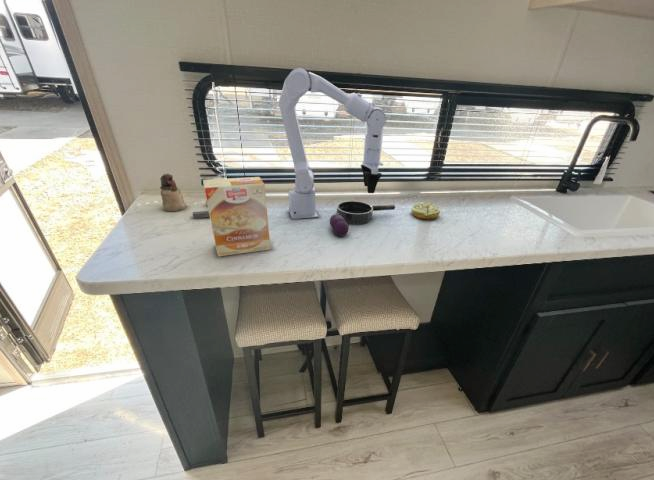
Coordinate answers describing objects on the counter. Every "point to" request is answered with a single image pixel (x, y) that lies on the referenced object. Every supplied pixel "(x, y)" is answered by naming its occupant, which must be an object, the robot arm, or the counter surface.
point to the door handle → (201, 214)
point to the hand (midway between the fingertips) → (369, 189)
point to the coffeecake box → (238, 214)
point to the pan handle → (383, 207)
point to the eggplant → (339, 225)
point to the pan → (355, 212)
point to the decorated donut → (425, 210)
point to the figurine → (171, 194)
